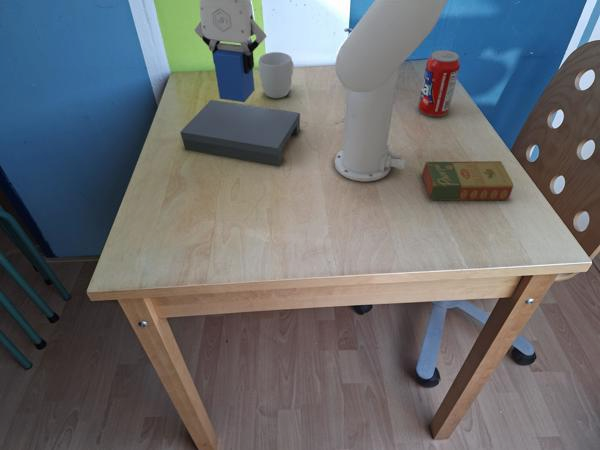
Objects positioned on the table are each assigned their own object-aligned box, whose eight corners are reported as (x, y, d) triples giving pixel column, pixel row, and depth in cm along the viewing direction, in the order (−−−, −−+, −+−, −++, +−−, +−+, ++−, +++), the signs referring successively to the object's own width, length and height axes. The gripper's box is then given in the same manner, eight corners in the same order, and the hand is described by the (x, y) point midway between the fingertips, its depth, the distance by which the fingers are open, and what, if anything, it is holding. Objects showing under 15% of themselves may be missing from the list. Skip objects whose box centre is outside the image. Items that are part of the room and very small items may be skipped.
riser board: (300, 130, 107) (299, 112, 103) (278, 166, 96) (277, 148, 92) (213, 117, 112) (210, 99, 109) (184, 149, 101) (180, 131, 98)
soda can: (447, 120, 109) (462, 63, 99) (416, 116, 111) (427, 60, 100) (448, 106, 115) (462, 50, 104) (418, 102, 116) (429, 47, 106)
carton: (508, 201, 86) (515, 185, 83) (428, 201, 87) (433, 184, 84) (495, 176, 92) (501, 159, 89) (421, 175, 93) (425, 159, 90)
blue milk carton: (254, 90, 97) (250, 41, 89) (244, 102, 93) (238, 52, 85) (230, 86, 98) (224, 38, 91) (219, 98, 94) (212, 49, 87)
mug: (281, 103, 117) (279, 68, 110) (255, 96, 120) (251, 61, 113) (305, 85, 125) (304, 51, 118) (279, 78, 128) (278, 45, 121)
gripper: (172, -23, 79) (190, 71, 91) (258, -16, 75) (265, 82, 87) (191, -33, 84) (206, 57, 96) (273, -27, 80) (277, 67, 92)
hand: (234, 68), depth 92 cm, fingers closed on blue milk carton, 6 cm apart
